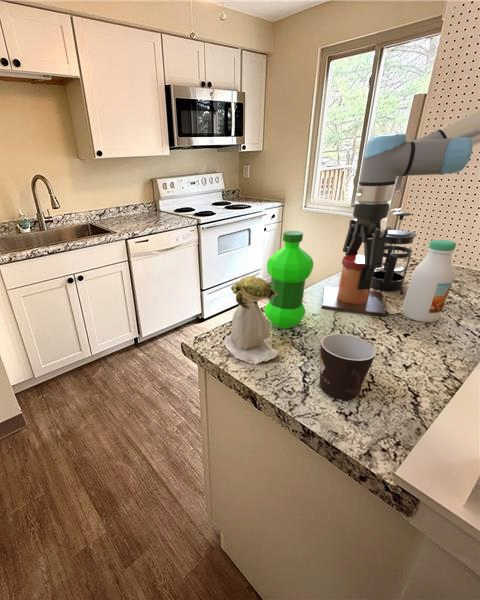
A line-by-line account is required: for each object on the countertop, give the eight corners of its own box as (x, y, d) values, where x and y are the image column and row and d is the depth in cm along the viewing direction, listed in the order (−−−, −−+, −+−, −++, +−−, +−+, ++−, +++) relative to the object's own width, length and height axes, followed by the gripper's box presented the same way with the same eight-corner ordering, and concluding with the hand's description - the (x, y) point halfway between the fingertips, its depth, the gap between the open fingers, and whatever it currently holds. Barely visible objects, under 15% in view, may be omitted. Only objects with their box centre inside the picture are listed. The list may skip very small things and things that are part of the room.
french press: (366, 277, 106) (382, 209, 96) (401, 281, 101) (421, 209, 91) (366, 290, 97) (382, 216, 87) (404, 295, 92) (426, 217, 82)
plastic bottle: (276, 311, 91) (285, 226, 80) (312, 323, 83) (326, 231, 72) (255, 322, 86) (261, 234, 75) (290, 337, 78) (302, 240, 67)
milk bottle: (412, 323, 79) (436, 247, 70) (394, 309, 86) (414, 238, 77) (446, 322, 77) (475, 245, 69) (426, 308, 84) (449, 236, 76)
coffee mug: (319, 369, 66) (326, 329, 62) (367, 384, 61) (379, 342, 57) (303, 401, 59) (310, 358, 54) (357, 422, 53) (369, 376, 49)
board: (380, 294, 94) (381, 291, 94) (385, 317, 83) (386, 313, 82) (324, 288, 101) (324, 286, 101) (321, 308, 90) (321, 305, 89)
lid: (363, 272, 82) (364, 266, 82) (335, 264, 89) (336, 258, 89) (383, 265, 85) (385, 259, 84) (354, 258, 92) (356, 252, 91)
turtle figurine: (228, 364, 71) (230, 292, 63) (221, 334, 82) (222, 270, 74) (282, 364, 69) (291, 289, 61) (267, 333, 81) (273, 267, 73)
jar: (366, 294, 93) (375, 258, 88) (368, 305, 87) (377, 267, 82) (337, 291, 96) (343, 256, 91) (336, 301, 91) (343, 264, 86)
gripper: (338, 197, 90) (325, 271, 99) (380, 209, 71) (360, 298, 81) (366, 195, 89) (350, 269, 98) (416, 207, 70) (391, 297, 80)
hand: (355, 282), depth 89 cm, fingers closed on lid, 8 cm apart
